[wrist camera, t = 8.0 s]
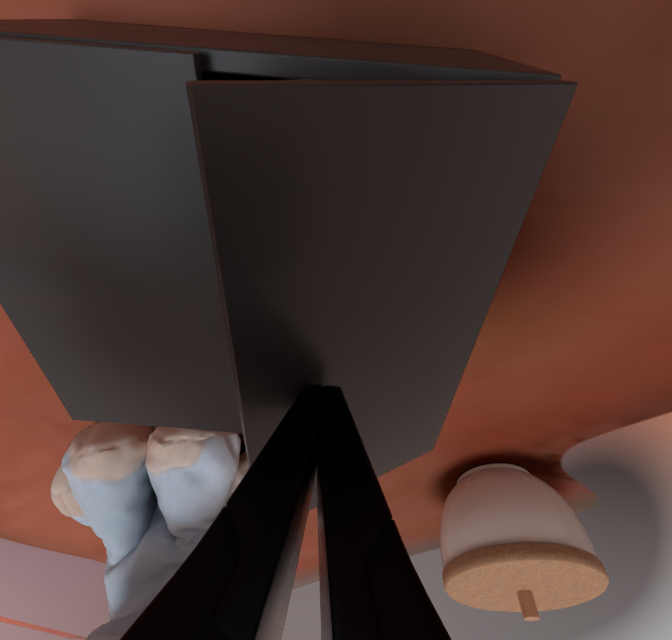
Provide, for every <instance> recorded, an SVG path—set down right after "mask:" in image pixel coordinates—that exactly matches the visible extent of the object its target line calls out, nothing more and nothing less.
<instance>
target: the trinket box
mask: <svg viewBox="0 0 672 640" xmlns="http://www.w3.org/2000/svg"><path fill="white" fill-rule="evenodd" d="M440 549H441V559H442V565H443V584H444V589H445V591H446V593H447V594H448V595H449V596H450V597H451V598H452V599H454V600H455V601H457V602H460V603H462V604H464V605H468V606H471V607H475V608H479V609H485V610H492V611H502V612H522V615H523V618H524V620H527V621H536V620H539V619H540V616H539V613H538V611H546V610H554V609H560V608H565V607H570V606H574V605H577V604H581V603H584V602H586V601H589V600H591V599H593V598H595V597H597V596H599V595H600V594H601V593H603V592H604V591H605V590H606V588H607V587H608V582H609V578H608V575H607V573H606V570H605V568H604V566H603V564H602V562H601V561H600V560H599V558H598V557H597V555H596V552H595V550H594V548H593V545H592V543H591V541H590V539H589V537H588V535H587V533H586V531H585V529H584V528H583V526H582V524H581V522H580V520H579V519H578V517H577V516H576V514H575V513H574V511H573V510H572V509H571V507H570V506H569V504H568V503H567V502H566V501H565V499H564V498H563V497H562V496H561V495H560V494H559V493H558V492H557V491H556V490H554V489H553V488H552V487H551V486H550V485H548V484H547V483H546V482H544V481H542V480H541V479H539V478H537V477H535V476H533V475H531V474H530V473H529V472H528V471H527V470H526V469H524V468H522V467H519V466H517V465H512V464H504V463H496V464H487V465H482V466H478V467H475V468H473V469H470V470H468V471H466V472H465V473H463V474H462V475H461V476H460V477H459V479H458V480H457V485H456V486H455V487H454V488H453V489H452V491H451V492H450V494H449V495H448V497H447V499H446V501H445V503H444V506H443V509H442V514H441V519H440Z"/></svg>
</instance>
